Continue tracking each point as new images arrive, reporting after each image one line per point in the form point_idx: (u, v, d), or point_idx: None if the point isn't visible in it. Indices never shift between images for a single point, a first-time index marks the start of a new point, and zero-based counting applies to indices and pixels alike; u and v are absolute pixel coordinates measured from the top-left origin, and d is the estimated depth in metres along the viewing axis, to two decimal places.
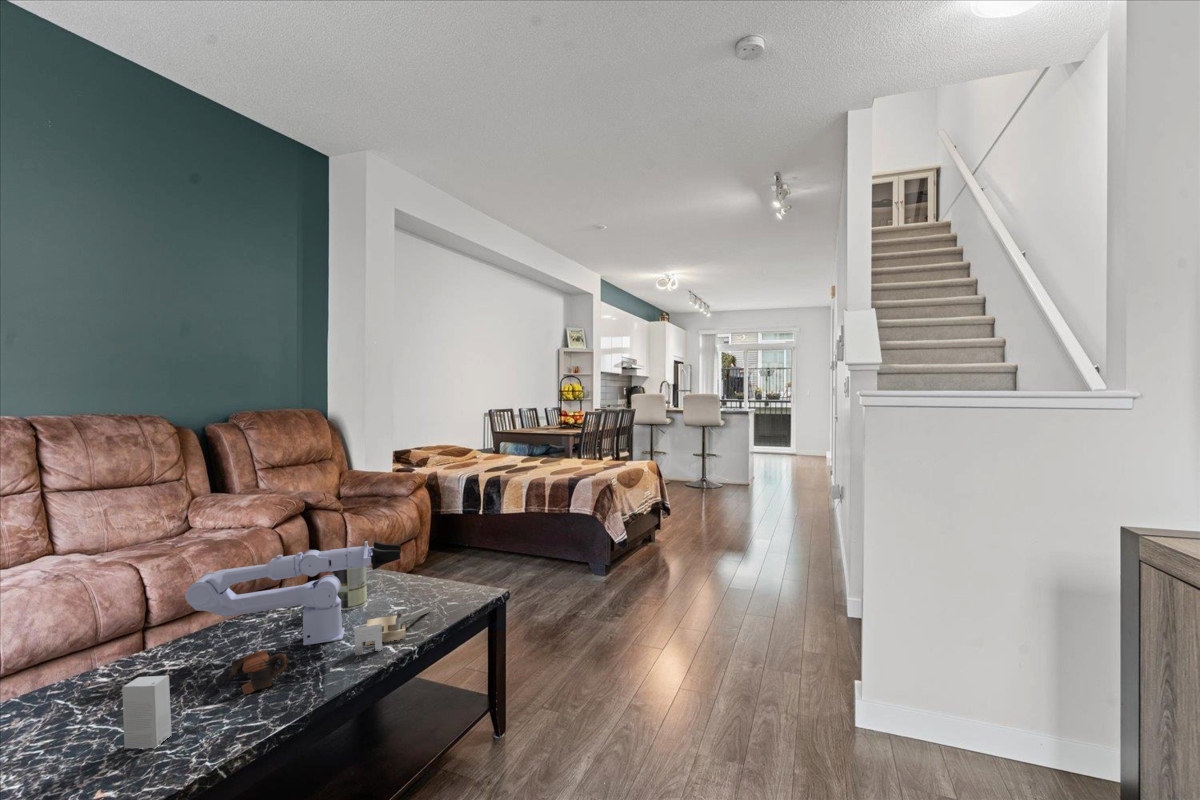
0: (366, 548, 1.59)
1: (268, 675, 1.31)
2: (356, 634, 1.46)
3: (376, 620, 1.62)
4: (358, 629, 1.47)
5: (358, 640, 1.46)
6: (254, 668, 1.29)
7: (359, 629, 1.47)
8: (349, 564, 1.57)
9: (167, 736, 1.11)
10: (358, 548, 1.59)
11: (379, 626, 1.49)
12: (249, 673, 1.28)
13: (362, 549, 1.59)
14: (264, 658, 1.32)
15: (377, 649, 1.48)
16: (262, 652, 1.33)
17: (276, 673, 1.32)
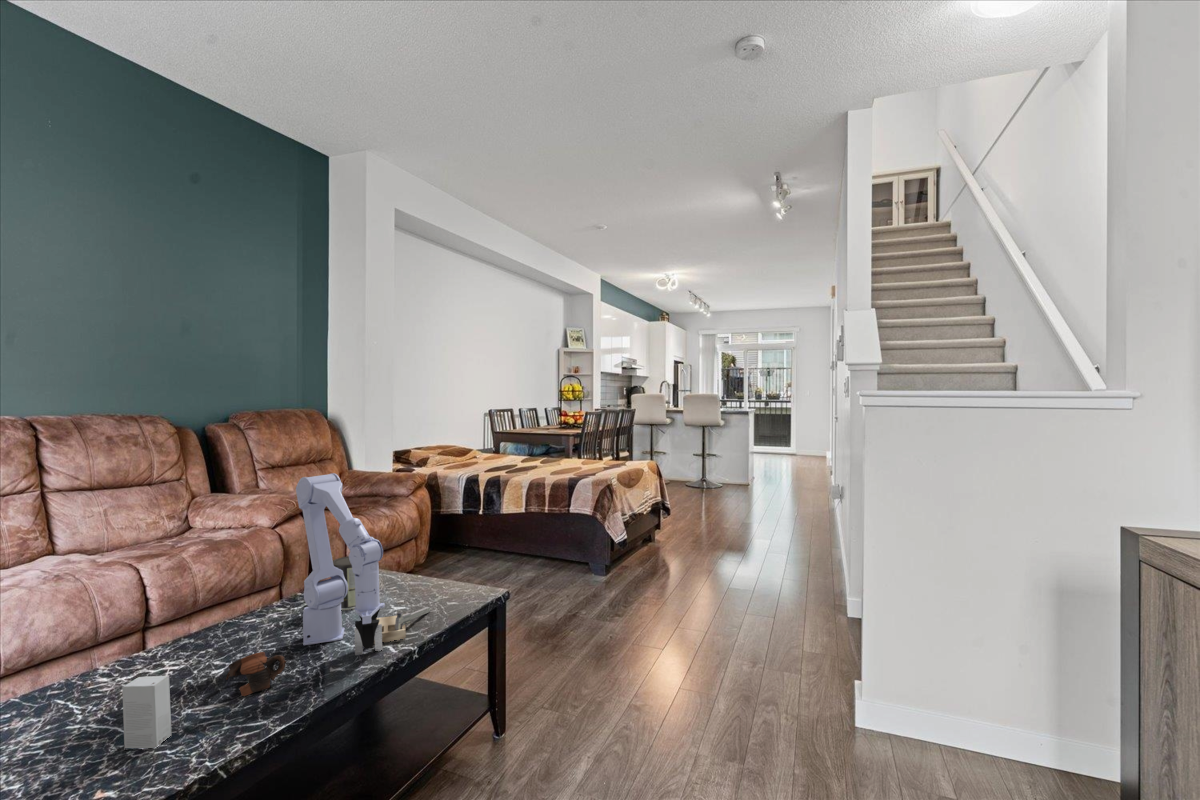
0: (378, 609, 1.47)
1: (266, 676, 1.30)
2: (356, 634, 1.46)
3: None
4: None
5: (358, 640, 1.46)
6: (252, 670, 1.28)
7: None
8: (361, 594, 1.45)
9: (167, 736, 1.11)
10: (378, 599, 1.48)
11: (379, 626, 1.49)
12: (247, 675, 1.28)
13: (377, 604, 1.47)
14: (262, 660, 1.31)
15: (377, 649, 1.48)
16: (260, 654, 1.32)
17: (274, 675, 1.31)
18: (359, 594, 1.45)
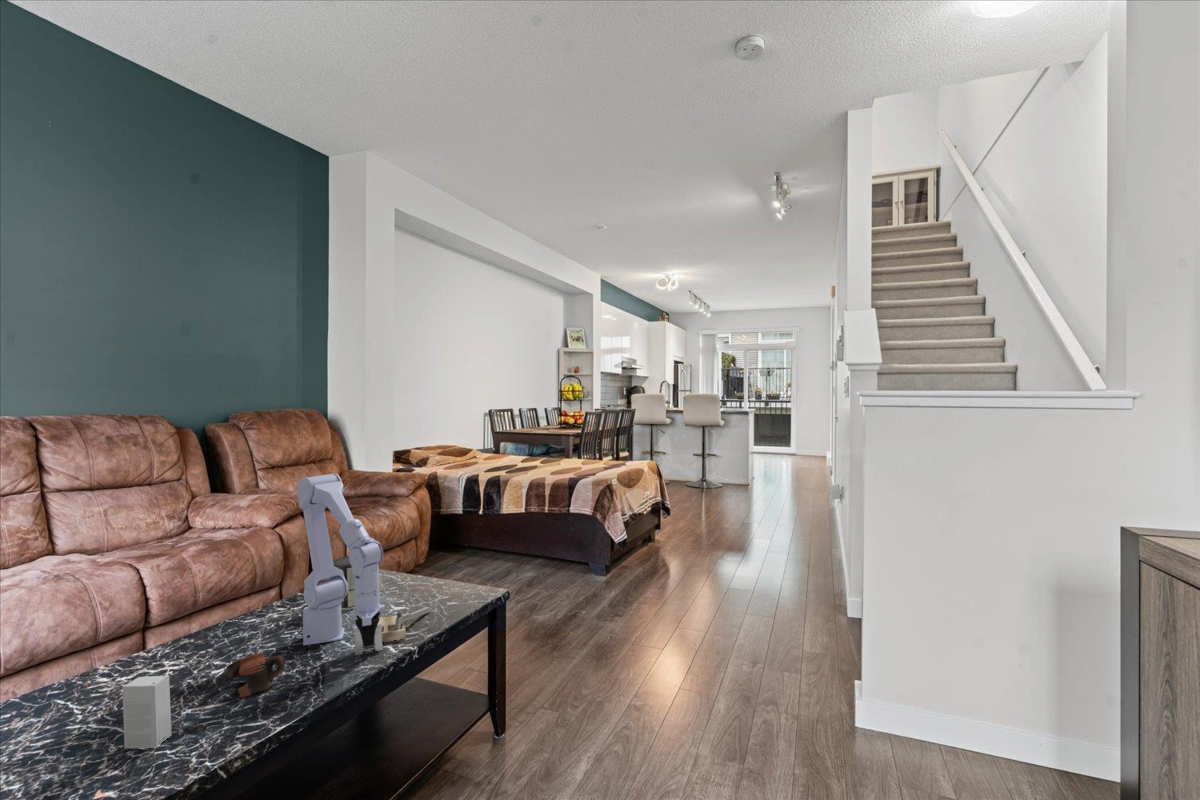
0: (378, 611, 1.47)
1: (265, 677, 1.29)
2: (356, 634, 1.46)
3: None
4: (358, 629, 1.47)
5: (358, 640, 1.46)
6: (251, 671, 1.28)
7: None
8: (362, 596, 1.45)
9: (167, 736, 1.11)
10: (378, 601, 1.48)
11: (379, 626, 1.49)
12: (246, 676, 1.27)
13: (377, 606, 1.47)
14: (261, 661, 1.31)
15: (377, 649, 1.47)
16: (258, 655, 1.32)
17: (273, 676, 1.31)
18: (359, 596, 1.45)
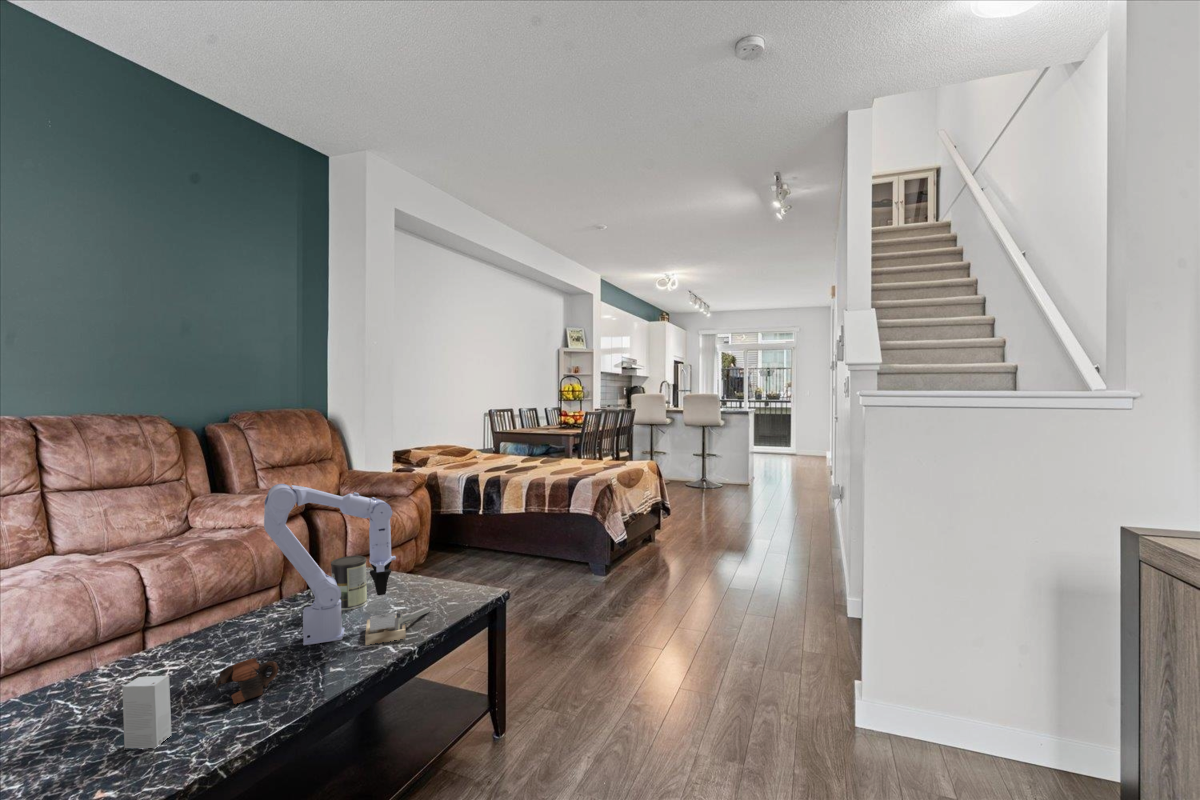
0: (390, 560, 1.64)
1: (259, 683, 1.27)
2: (371, 622, 1.54)
3: None
4: (373, 617, 1.55)
5: (373, 628, 1.54)
6: (244, 677, 1.25)
7: (374, 617, 1.55)
8: (375, 547, 1.62)
9: (167, 736, 1.11)
10: (390, 552, 1.65)
11: (393, 615, 1.56)
12: (239, 682, 1.24)
13: (389, 556, 1.64)
14: (254, 666, 1.28)
15: None
16: (252, 660, 1.29)
17: (267, 681, 1.28)
18: (373, 547, 1.62)
